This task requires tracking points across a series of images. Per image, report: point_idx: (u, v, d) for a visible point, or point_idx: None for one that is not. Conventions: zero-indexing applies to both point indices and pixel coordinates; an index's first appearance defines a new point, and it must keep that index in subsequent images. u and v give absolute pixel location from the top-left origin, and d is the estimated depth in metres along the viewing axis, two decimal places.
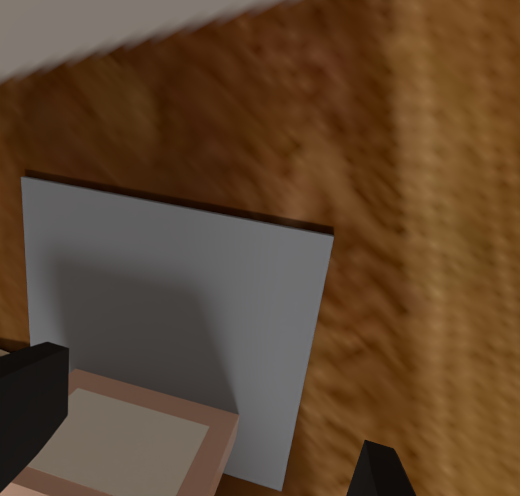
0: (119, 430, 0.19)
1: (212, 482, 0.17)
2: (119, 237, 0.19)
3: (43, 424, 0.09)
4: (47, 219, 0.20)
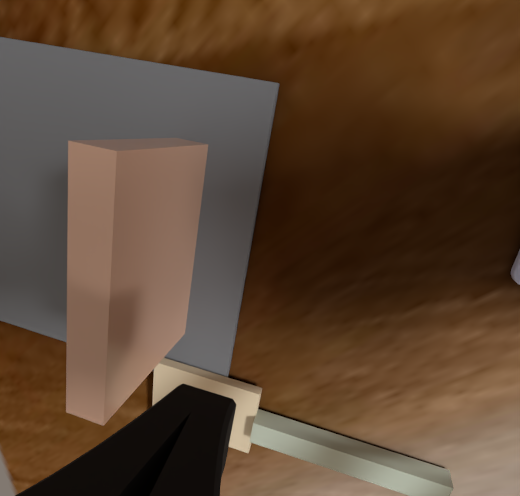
0: None
1: (125, 140, 0.14)
2: (24, 243, 0.22)
3: None
4: (24, 307, 0.23)
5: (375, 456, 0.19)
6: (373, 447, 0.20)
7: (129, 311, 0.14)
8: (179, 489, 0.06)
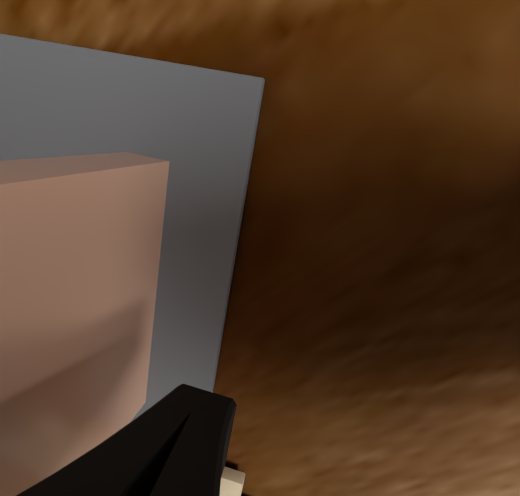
0: None
1: (32, 160, 0.09)
2: None
3: None
4: None
5: None
6: None
7: (40, 417, 0.09)
8: (179, 489, 0.06)
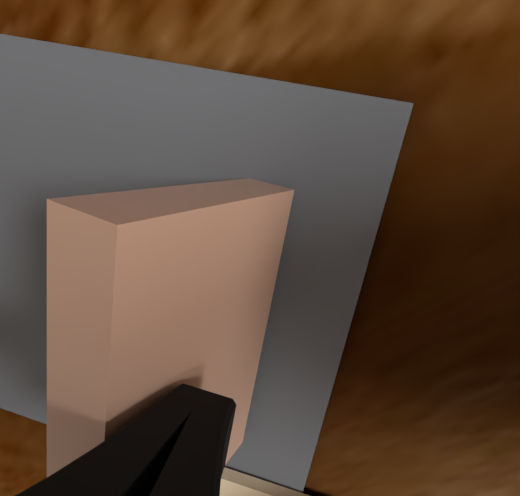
0: None
1: (164, 189, 0.09)
2: (24, 310, 0.16)
3: None
4: (24, 391, 0.17)
5: None
6: None
7: None
8: (179, 489, 0.06)
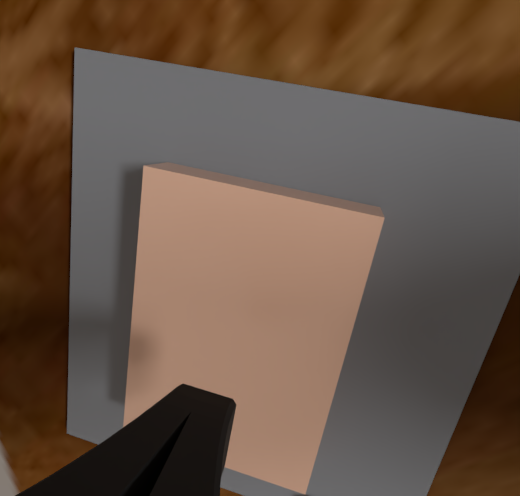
0: None
1: (246, 179, 0.12)
2: (115, 339, 0.15)
3: None
4: (108, 421, 0.17)
5: None
6: None
7: (164, 346, 0.13)
8: (179, 489, 0.06)
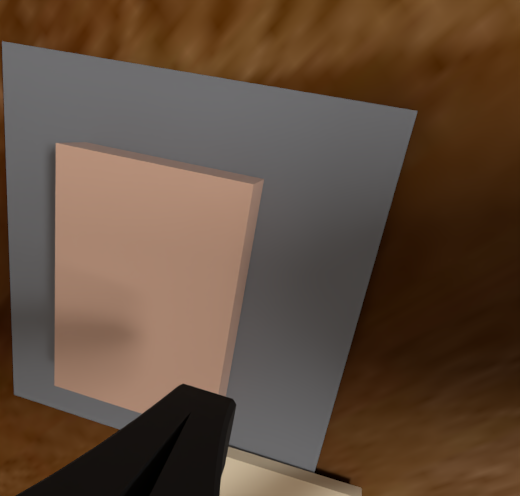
0: None
1: (152, 156, 0.14)
2: (51, 305, 0.17)
3: None
4: (49, 381, 0.18)
5: None
6: None
7: (84, 304, 0.15)
8: (179, 489, 0.06)
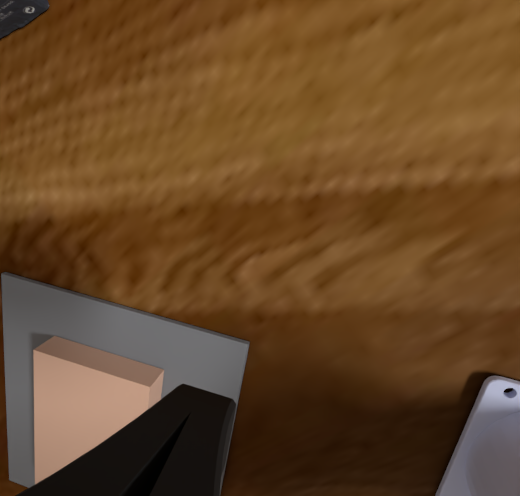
0: None
1: (95, 349, 0.22)
2: None
3: None
4: (33, 474, 0.26)
5: None
6: None
7: (52, 440, 0.23)
8: (179, 489, 0.06)
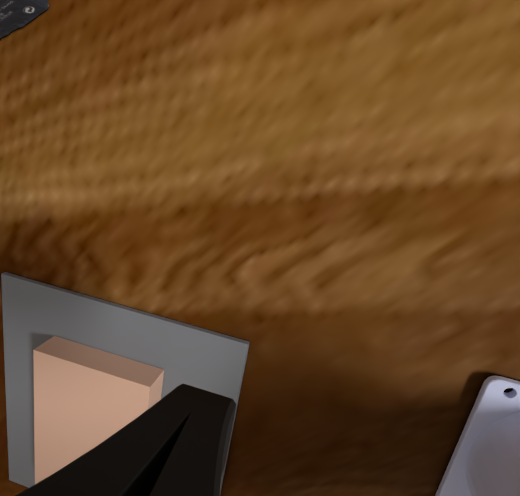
0: None
1: (95, 349, 0.22)
2: None
3: None
4: (33, 474, 0.26)
5: None
6: None
7: (52, 440, 0.23)
8: (179, 489, 0.06)
